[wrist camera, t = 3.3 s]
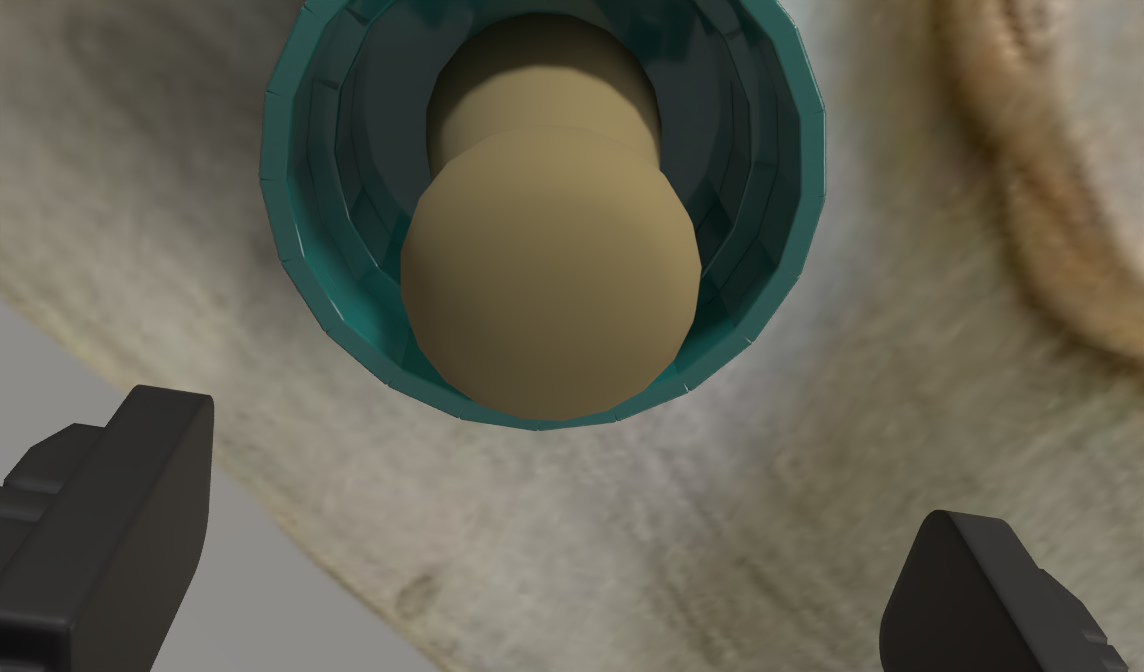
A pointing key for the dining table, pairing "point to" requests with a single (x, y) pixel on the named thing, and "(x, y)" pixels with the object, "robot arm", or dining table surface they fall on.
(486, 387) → the cork
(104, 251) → the dining table surface
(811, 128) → the bowl
